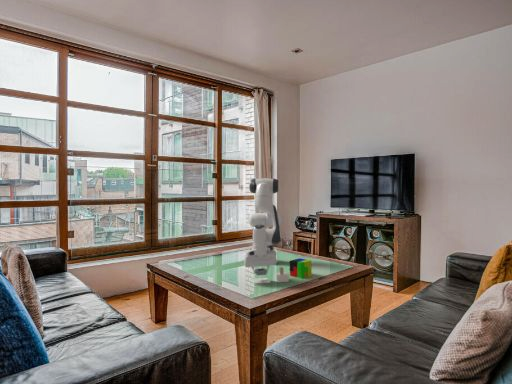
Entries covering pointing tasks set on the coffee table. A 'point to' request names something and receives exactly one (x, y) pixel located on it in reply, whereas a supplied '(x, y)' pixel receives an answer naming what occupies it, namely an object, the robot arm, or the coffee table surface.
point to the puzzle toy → (300, 268)
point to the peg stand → (281, 276)
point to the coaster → (260, 280)
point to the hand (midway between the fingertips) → (260, 273)
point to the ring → (261, 271)
